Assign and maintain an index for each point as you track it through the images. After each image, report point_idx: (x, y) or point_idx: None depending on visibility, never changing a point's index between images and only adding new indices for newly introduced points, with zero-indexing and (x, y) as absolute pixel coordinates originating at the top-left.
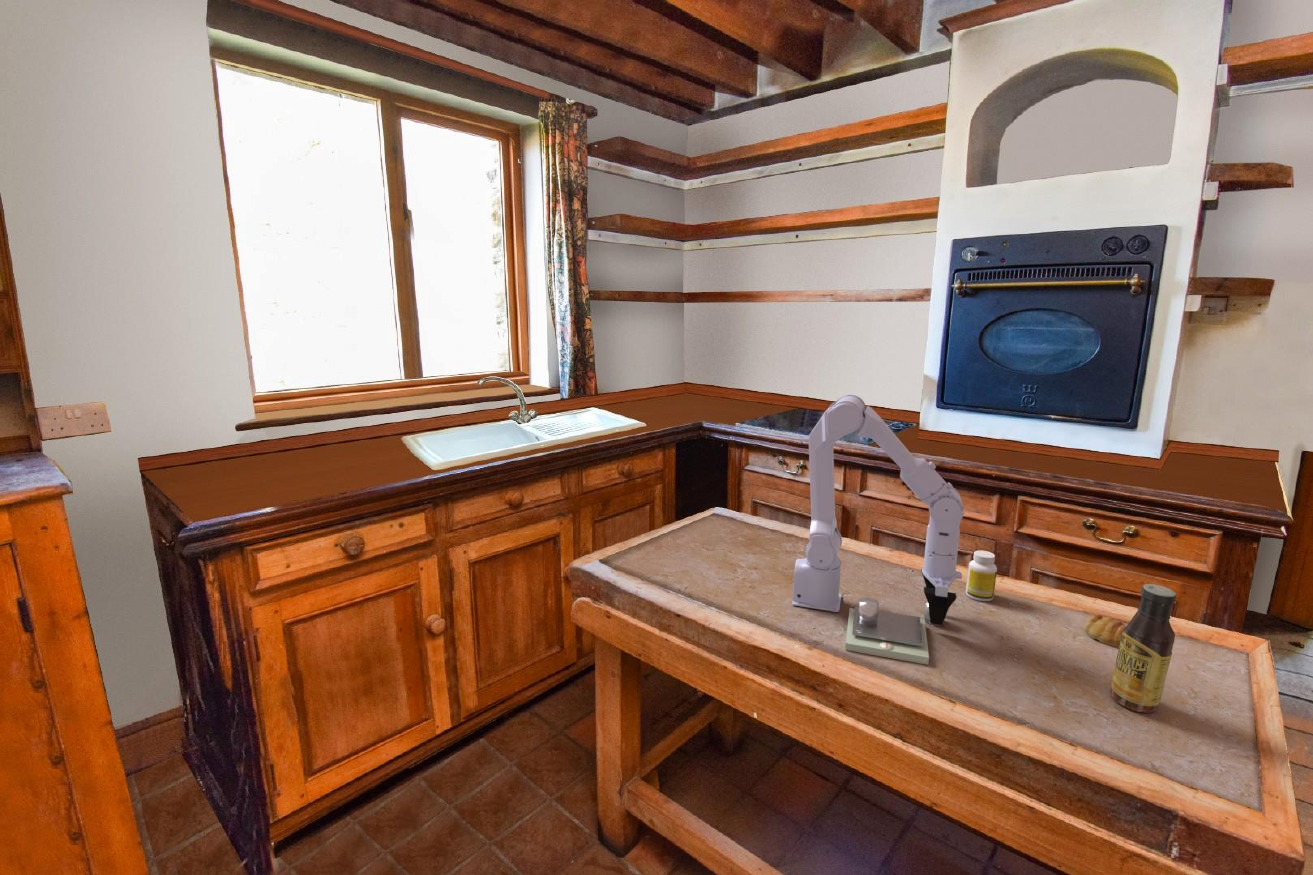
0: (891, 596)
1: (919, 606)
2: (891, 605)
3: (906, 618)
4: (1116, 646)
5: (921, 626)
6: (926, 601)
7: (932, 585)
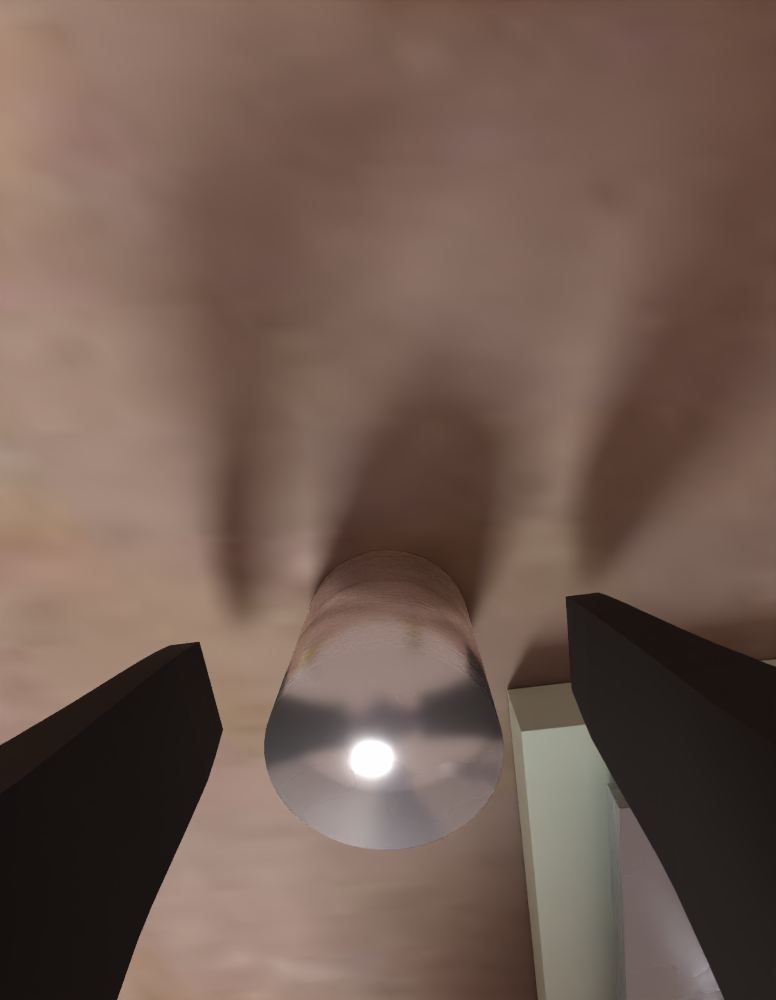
0: None
1: None
2: (273, 905)
3: None
4: None
5: None
6: (382, 842)
7: (76, 953)
